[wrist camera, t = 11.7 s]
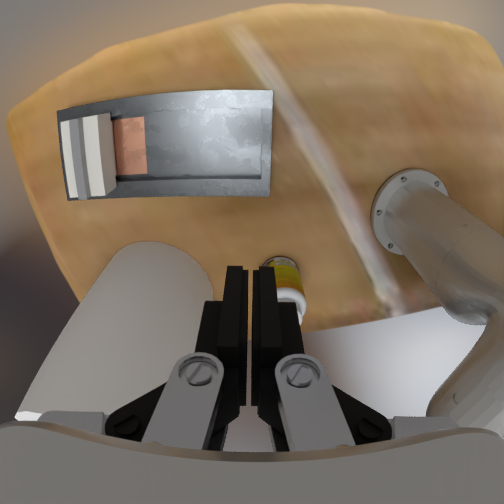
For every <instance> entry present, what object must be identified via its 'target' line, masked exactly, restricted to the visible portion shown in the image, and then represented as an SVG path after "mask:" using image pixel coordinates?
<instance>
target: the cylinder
mask: <svg viewBox="0 0 504 504" xmlns="http://www.w3.org/2000/svg"><path fill="white" fill-rule="evenodd" d="M205 301H213V290H212V285H211V283H210V281H209V278H208V276H207V274H206V273H205V271H204V270H203V269H202V267H201V266H200V265H199V263H198V262H197V261H195V260H194V259H193V258H192V257H190V256H189V255H188V254H187V253H186V252H184V251H182V250H180V249H178V248H176V247H174V246H172V245H168V244H164V243H160V242H156V241H142V242H137V243H133V244H130V245H127V246H125V247H124V248H122V249H121V250H119V251H118V252H117V253H116V254H115V255H114V257H113V258H112V259H111V261H110V262H109V263H108V265H107V266H106V267H105V269H104V270H103V271H102V273H101V274H100V276H99V277H98V278H97V280H96V281H95V283H94V284H93V286H92V287H91V288H90V290H89V291H88V293H87V294H86V296H85V297H84V299H83V300H82V302H81V303H80V305H79V306H78V308H77V309H76V311H75V312H74V314H73V315H72V317H71V318H70V320H69V322H68V323H67V325H66V326H65V328H64V329H63V331H62V332H61V334H60V336H59V337H58V339H57V341H56V342H55V344H54V346H53V347H52V349H51V351H50V352H49V354H48V356H47V357H46V359H45V361H44V363H43V364H42V366H41V368H40V370H39V372H38V373H37V375H36V377H35V379H34V381H33V382H32V384H31V386H30V388H29V390H28V392H27V394H26V396H25V398H24V400H23V402H22V403H21V406H20V408H19V409H18V412H17V414H16V416H15V418H16V419H17V420H18V421H37V420H38V418H39V417H40V416H41V415H42V414H43V413H45V412H47V411H53V410H55V411H80V412H103V413H104V414H105V415H110V414H111V413H113V412H114V411H115V410H117V409H119V408H121V407H123V406H124V405H126V404H128V403H130V402H132V401H134V400H135V399H137V398H139V397H141V396H143V395H144V394H146V393H148V392H150V391H151V390H153V389H155V388H157V387H159V386H160V385H162V384H164V383H165V382H167V381H168V378H169V376H170V374H171V372H172V369H173V367H174V365H175V364H176V362H177V361H178V360H179V359H180V358H182V357H183V356H185V355H188V354H190V353H194V352H195V347H196V342H197V337H198V332H199V327H200V322H201V317H202V312H203V307H204V303H205Z"/></svg>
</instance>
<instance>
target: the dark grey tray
mask: <svg viewBox="0 0 504 504" xmlns="http://www.w3.org/2000/svg"><path fill="white" fill-rule="evenodd" d="M272 106H273V91H272V90H206V91H187V92H173V93H162V94H152V95H143V96H135V97H128V98H121V99H114V100H108V101H102V102H97V103H91V104H86V105H81V106H77V107H72V108H68V109H63V110H59V111H57V121H58V133H59V143H60V152H61V161H62V168H63V175H64V181H65V188H66V194H67V199H68V201H72V200H79V199H78V197H75V198H70V195H69V189H68V183H67V177H66V170H65V162H64V154H63V146H62V135H61V123H60V122H63V121H68V120H72V119H77V118H82V117H87V116H93V115H99V114H105V113H110V120H111V121H112V125H113V140H114V152H115V163H116V172H117V175H116V176H115V178H116V186H117V187H116V188H115V189H113V190H112V191H111V192H109V193H108V194H107V195H106V196H91V197H90V198H88V199H107V198H130V197H164V196H259V197H269V194H270V168H271V139H272ZM88 199H86V200H88Z"/></svg>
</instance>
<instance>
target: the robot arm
mask: <svg viewBox="0 0 504 504" xmlns="http://www.w3.org/2000/svg"><path fill="white" fill-rule="evenodd" d="M401 177H402V179H401ZM377 210H378V211H377ZM371 223H372V229H373V232H374V234H375V236H376V238H377V239H378V241H379V242H380V243H381V245H382V246H383V247H384V248H385V249H386V250H388V251H390V252H392V253H394V254H398V255H404V256H405V257H406V258H407V259H408V261H409V262H410V263H411V265H412V266H413V267H414V268H415V270H416V271H417V272H418V274H419V275H420V276H421V278H422V279H423V280H424V282H425V283H426V284H427V286H428V287H429V288H430V290H431V291H432V292H433V294H434V295H435V297H436V298H437V299H438V301H439V302H440V304H441V305H442V306H443V308H444V309H445V310H446V312H447V313H448V314H449V315H450V316H451V317H453V318H454V319H456V320H458V321H459V322H462V323H465V324H470V325H486V327H485V330H484V332H483V334H482V335H481V337H480V338H479V340H478V341H477V342H476V344H475V345H474V347H473V348H472V350H471V351H470V352H469V353H468V355H467V356H466V357H465V358H464V360H463V361H462V362H461V363H460V364H459V365H458V367H457V368H456V369H455V370H454V371H453V372H452V374H451V375H450V376H449V377H448V378H447V379H446V380H445V382H444V383H443V384H442V385H441V386H440V387H439V389H438V390H437V391H436V392H435V394H434V395H433V397H432V398H431V400H430V402H429V405H428V407H427V411H426V417H400V416H395V417H394V418H393V419H387V418H386V417H384V416H383V415H381V414H380V413H378V412H377V411H375V410H373V409H371V408H370V407H368V406H366V405H365V404H363V403H361V402H360V401H358V400H356V399H355V398H353V397H351V396H350V395H348V394H346V393H345V392H343V391H341V390H340V389H338V388H337V387H335V386H333V385H332V384H331V382H330V380H329V378H328V375H327V373H326V370H325V368H324V366H323V365H322V363H321V362H319V361H318V360H317V359H316V358H314V357H312V356H309V355H305V353H304V348H303V341H302V335H301V329H300V323H299V318H298V312H297V307H296V303H295V302H278V297H277V287H276V278H275V269H274V267H272V266H259V270H253V299H252V370H251V375H252V376H251V379H252V380H251V406H258V415H259V417H260V418H261V419H262V420H263V421H265V422H266V423H267V424H268V429H269V434H270V438H271V443H272V447H273V452H225V451H223V447H224V443H225V439H226V435H227V431H228V424H229V423H230V422H231V421H233V420H234V419H235V418H237V417H238V415H239V412H240V410H239V409H240V406H246V383H247V336H248V270H243V266H227V273H226V280H225V288H224V295H223V301H205V303H204V307H203V312H202V317H201V322H200V327H199V332H198V337H197V342H196V347H195V352H194V353H190V354H188V355H185V356H183V357H182V358H180V359H179V360H178V361H177V362H176V364H175V365H174V367H173V369H172V372H171V374H170V376H169V378H168V381H167V382H165V383H164V384H162V385H160V386H159V387H157V388H155V389H153V390H151V391H150V392H148V393H146V394H144V395H143V396H141V397H139V398H137V399H135V400H134V401H132V402H130V403H128V404H126V405H124V406H123V407H121V408H119V409H117V410H115V411H114V412H113V413H111V414H110V415H105V414H104V413H103V412H80V411H55V410H53V411H47V412H45V413H43V414H42V415H41V416H40V417H39V418H38V420H37V421H14V422H8V423H5V424H2V425H0V504H504V237H503V236H502V235H500V234H499V233H498V232H496V231H495V230H493V229H492V228H491V227H490V226H488V225H487V224H486V223H484V222H483V221H482V220H480V219H479V218H478V217H476V216H475V215H473V214H472V213H471V212H469V211H468V210H467V209H465V208H464V207H462V206H461V205H459V204H458V203H456V202H455V201H454V200H452V199H451V198H449V196H448V192H447V190H446V187H445V186H444V184H443V183H442V181H441V180H440V179H439V178H438V177H437V176H435V175H434V174H432V173H430V172H428V171H426V170H423V169H417V168H414V169H407V170H403V171H400V172H398V173H397V174H395V175H393V176H392V177H391V178H389V179H388V180H387V181H386V182H385V183H384V184H383V186H382V187H381V188H380V190H379V192H378V193H377V195H376V197H375V200H374V202H373V206H372V211H371Z"/></svg>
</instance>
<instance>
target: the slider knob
mask: <svg viewBox="0 0 504 504" xmlns="http://www.w3.org/2000/svg"><path fill="white" fill-rule="evenodd" d="M60 123H61V135H62V146H63V154H64V162H65V170H66V177H67V183H68V189H69V195H70V198H75V197H78V199H79V200H86V199H88V198H90V197H91V196H106V195H107V194H108V193H109V192H111V191H112V190H113V189H115V188H116V187H117V186H116V178H115V176H116V175H117V172H116V163H115V152H114V140H113V125H112V121H111V120H110V113H105V114H99V115H93V116H87V117H82V118H77V119H72V120H68V121H63V122H60Z"/></svg>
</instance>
